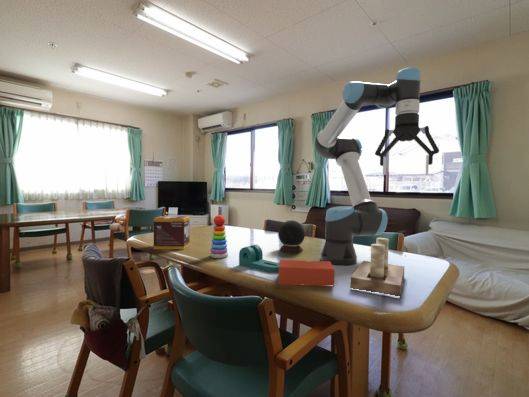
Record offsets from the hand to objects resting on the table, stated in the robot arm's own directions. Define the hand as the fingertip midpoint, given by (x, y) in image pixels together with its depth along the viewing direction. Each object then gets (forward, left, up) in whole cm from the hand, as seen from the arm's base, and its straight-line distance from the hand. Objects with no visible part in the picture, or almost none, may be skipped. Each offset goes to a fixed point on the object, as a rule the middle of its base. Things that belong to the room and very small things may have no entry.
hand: (404, 174), depth 99 cm
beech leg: (-6, -19, -37) cm, 42 cm away
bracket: (-49, -18, -37) cm, 64 cm away
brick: (-28, -23, -37) cm, 52 cm away
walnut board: (-6, -13, -37) cm, 39 cm away
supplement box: (-105, -12, -37) cm, 112 cm away
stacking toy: (-73, -14, -37) cm, 83 cm away
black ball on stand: (-50, +14, -37) cm, 64 cm away
